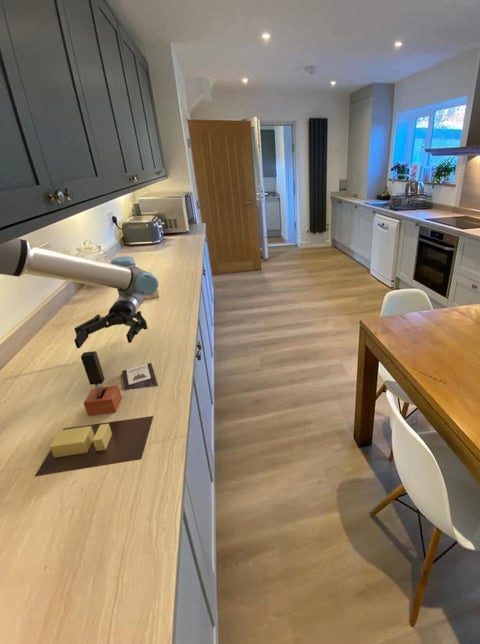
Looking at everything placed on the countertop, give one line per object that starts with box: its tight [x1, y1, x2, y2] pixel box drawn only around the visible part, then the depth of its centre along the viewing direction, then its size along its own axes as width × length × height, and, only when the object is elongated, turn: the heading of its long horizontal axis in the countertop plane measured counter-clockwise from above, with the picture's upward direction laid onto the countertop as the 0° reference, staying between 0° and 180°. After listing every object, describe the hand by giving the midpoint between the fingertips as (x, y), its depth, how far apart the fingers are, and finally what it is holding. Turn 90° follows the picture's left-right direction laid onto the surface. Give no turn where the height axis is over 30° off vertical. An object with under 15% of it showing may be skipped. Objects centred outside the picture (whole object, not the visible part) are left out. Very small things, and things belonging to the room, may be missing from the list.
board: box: [34, 415, 154, 478], centre depth 79 cm, size 22×14×2 cm, turn 102°
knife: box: [80, 350, 106, 399], centre depth 87 cm, size 3×3×19 cm
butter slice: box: [93, 424, 112, 451], centre depth 78 cm, size 2×5×4 cm, turn 12°
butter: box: [49, 426, 95, 458], centre depth 77 cm, size 7×5×4 cm
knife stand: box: [83, 385, 123, 417], centre depth 90 cm, size 7×6×6 cm
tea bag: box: [144, 287, 160, 301], centre depth 163 cm, size 4×7×10 cm, turn 116°
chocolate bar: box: [121, 362, 159, 391], centre depth 101 cm, size 9×1×18 cm
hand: (103, 341), depth 92 cm, fingers open, 13 cm apart
